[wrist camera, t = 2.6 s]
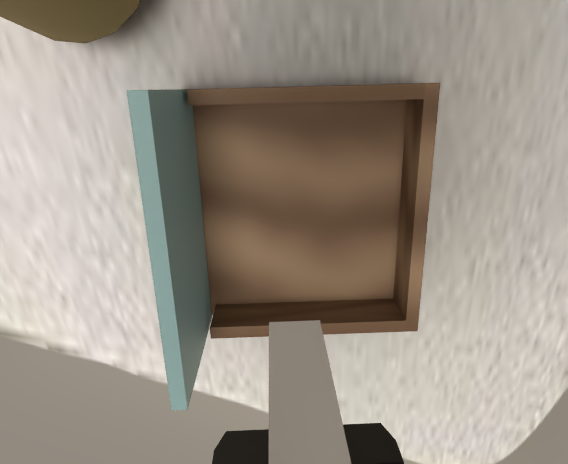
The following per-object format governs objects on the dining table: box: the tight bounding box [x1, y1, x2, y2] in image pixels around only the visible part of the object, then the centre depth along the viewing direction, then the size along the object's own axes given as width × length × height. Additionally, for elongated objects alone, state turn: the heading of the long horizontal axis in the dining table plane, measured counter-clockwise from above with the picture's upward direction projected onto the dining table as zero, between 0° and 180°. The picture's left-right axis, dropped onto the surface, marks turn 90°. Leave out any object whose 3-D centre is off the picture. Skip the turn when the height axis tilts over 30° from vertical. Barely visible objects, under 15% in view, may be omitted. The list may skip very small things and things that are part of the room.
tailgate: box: [127, 90, 212, 410], centre depth 23 cm, size 15×1×9 cm, turn 1°
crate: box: [187, 83, 440, 338], centre depth 26 cm, size 15×15×4 cm
